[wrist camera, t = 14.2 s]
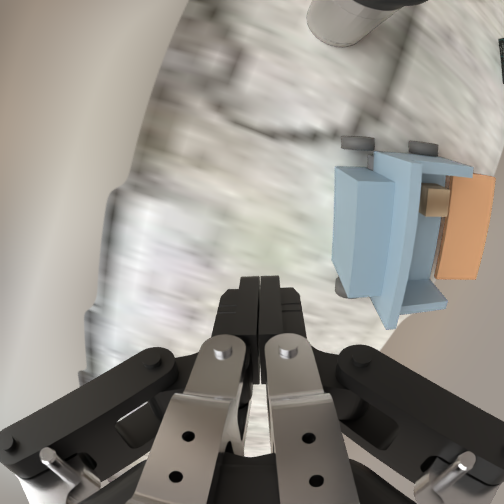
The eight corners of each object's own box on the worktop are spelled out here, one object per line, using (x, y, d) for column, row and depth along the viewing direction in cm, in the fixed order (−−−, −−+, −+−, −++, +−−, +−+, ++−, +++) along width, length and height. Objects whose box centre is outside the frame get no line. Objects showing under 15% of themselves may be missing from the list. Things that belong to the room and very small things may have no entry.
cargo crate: (415, 182, 37) (428, 188, 33) (436, 183, 37) (450, 189, 33) (413, 208, 39) (425, 216, 35) (434, 208, 38) (447, 216, 35)
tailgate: (453, 171, 35) (495, 177, 33) (448, 169, 37) (490, 175, 35) (436, 279, 43) (475, 279, 41) (433, 274, 44) (471, 274, 42)
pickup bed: (334, 135, 41) (369, 142, 26) (428, 142, 40) (487, 157, 25) (329, 284, 51) (350, 343, 37) (412, 279, 50) (450, 329, 36)
